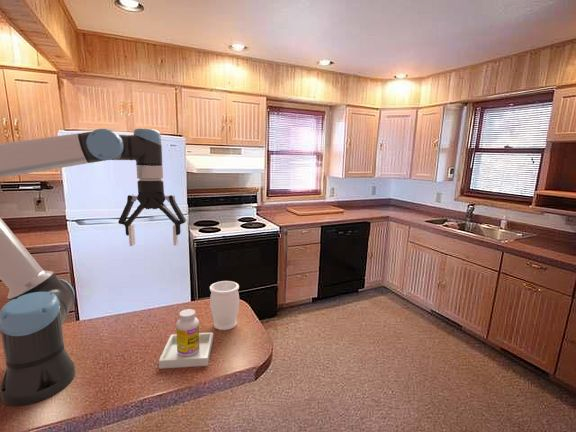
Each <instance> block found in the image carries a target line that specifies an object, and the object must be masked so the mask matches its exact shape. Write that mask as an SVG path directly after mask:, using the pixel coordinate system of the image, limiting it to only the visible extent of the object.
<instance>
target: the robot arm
mask: <svg viewBox="0 0 576 432" xmlns="http://www.w3.org/2000/svg"><path fill="white" fill-rule="evenodd" d="M161 136H162V135H161V132H159V130H157V129H152V128H151V129H150V128H135V129H134V130H133V134H131V135H130V134H118V133H116V131H114V130H111V129H108V128H98V129H94V130H92V131H87V132H80V133H70V134H64V135H63V134H62V135H56V136H47V137H42V138H33V139H25V140H19V141H18V140H17V141H12V142H11V141H9V142H5V143H4V142H3V143H0V179H3V178H9V177H15V176H16V177H17V176H19V175H20V176H21V175H27V174H32V173H38V172H45V171H50V170H55V169H56V170H57V169H62V168H69V167H73V166H80V165H85V164H91V163H92V164H93V163H99V162H106V161H135V163H136V164H135V165H136V166H135V167H136V178H137V179H138V181H137V182H136V183H137V193H138V194H137V195H134V194H128V195H127V201H126V203H125V206H124V208H123V211H122V213H121V215H120V217H119V220H118V222H117V223H118V224H119V225H123V226H124V228H125V235H126V236H128V240H129V241H128V243H129V247H133V246H134V245H136V235H135V224H133V223H134V221H135V220H136V219H137V217H138V216H139V215H140V214H141V213H142V212H143V210H145V209H146V210H150V209H151V210H157V209H159V210H160V211H161V212H162V213H164V214H165V217H167V218H168V219H169V220H170V221H171V222H172V223H173V225H172V236H173V237H172V238H173V239H172V240H173V242H172V243H173V246H177V245H178V244H179V238H178V236H179V235H181V231H182V230H181V225H183V224H185V223H186V222H187V219H186V218H185V216H184V214H183V213H182V210H181V209H180V207H179V205H178V203H177V202H176V197H175V195H174V194H171V195H165V187H164V180H162V179H163V178H164V171H163V169H164V167H163V150H162V149H163V147H162V137H161ZM136 201H138V202H139V203H140V204H139V205H138V206H137V207H136V209H135V210H134V211H133V212H132V214H131V215H130V216H129V214H130V212H131V209H132V208H133V206H134V203H136ZM165 201H167V202H168V203H169V204H170V206H171V208H172V210H173V211H174V213H175V214H174V213H173V212H172V211H171V210H170V209H169V208H168V207H167V205H166V204H165V203H164V202H165ZM128 216H129V217H128ZM0 280H1V282H2V283H3V284H4V285H5V286H6V287H7V288H8V294H7V299H8V300H9V301H8V302H7V303H5V304H4V305H3V306H2V308H1V309H0V335H1V336H0V337H1V341H2V347H3V348H2V349H3V352H4V359H5V364H6V365H5V366H6V368H5V371H4V375H3V379H2V382H1V385H0V398H1V401H2V403H3V404H4V405H7V406H11V407H12V406H15V407H16V406H25V405H30V404H34V403H37V402H41V401H44V400H46V399H48V398H50V397H53V396H54V395H55V394H58V393H59V392H61V391H62V390H63V389H64V388H66V387H68V385H69V384H71V382H72V381H73V380H74V378H75V376H76V367H75V363H74V362H73V360H72V358H71V357H70V355H69V353H68V352H67V351H66V349H65V342H64V334H63V333H64V332H63V324H64V322H65V320H66V318H67V316H68V314H69V313H70V311H71V310H72V308H73V306H74V304H75V303H74V302H75V295H76V294H75V289H74V288H73V286H72V285H71V284H70V283H69V281H67V280H65V279H63V278H58V276H57V275H56V274H55V272H54V271H53V270H46V269H43V268H42V266H41V265H40V264H39V263H38V262H37V261H36V259H35V258H34V257H33V255H32V254H31V253H30V252H29V251H28V249H26V247H25V246H24V245H23V243H22V242H21V241H20V240H19V238H18V237H17V236H16V235H15V233H14V232H13V231H12V230H11V229H10V227H9V226H8V224H6V223H5V221H4V220H3V218H1V217H0Z"/></svg>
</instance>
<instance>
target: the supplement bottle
mask: <svg viewBox="0 0 576 432" xmlns="http://www.w3.org/2000/svg"><path fill="white" fill-rule="evenodd" d="M178 314H179V319H178V320H177V322H176V323H175V327H176V330H175V331H176V334H177V352H178V354H179V355H180V356H184V357H187V356H192V355H194V354H196V353H197V352H198V351H199V333H200V321H199V319H198V318H197V317H196V310H195V309H191V308H187V309H183V310H181V311H180V312H179V313H178Z"/></svg>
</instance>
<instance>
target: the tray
mask: <svg viewBox="0 0 576 432" xmlns="http://www.w3.org/2000/svg"><path fill="white" fill-rule="evenodd" d="M213 342H214V332H211V331H210V332H199V351H198V352H197V353H196V354H194V355H192V356H187V357H184V356H180V355H179V354H178V352H177V333H175V334H170V335H169V338H168V340H167V343H166V344H165V346H164V349H163V351H162V352H161V354H160V357H159V359H158V368H159V369H160V370H162V369H175V368H176V369H177V368H188V367H189V368H190V367H207V366H209V362H210V357H211V352H212V347H213Z"/></svg>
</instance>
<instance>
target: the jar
mask: <svg viewBox="0 0 576 432" xmlns="http://www.w3.org/2000/svg"><path fill="white" fill-rule="evenodd" d="M239 289H240V285H239V283H237V282H235V281H232V280H221V281H217V282H214V283H212V284H210V286H209V291H210V292H211V293H210V299H209V306H210V312H211V316H212V319H213V327H214V328H215V330H216V329H217V330H220V331H228V330H232V329H233V328H235V327H236V326H237V325H238V322H237V321H238V320H237V318H238V314H239V307H240V294H239Z"/></svg>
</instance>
